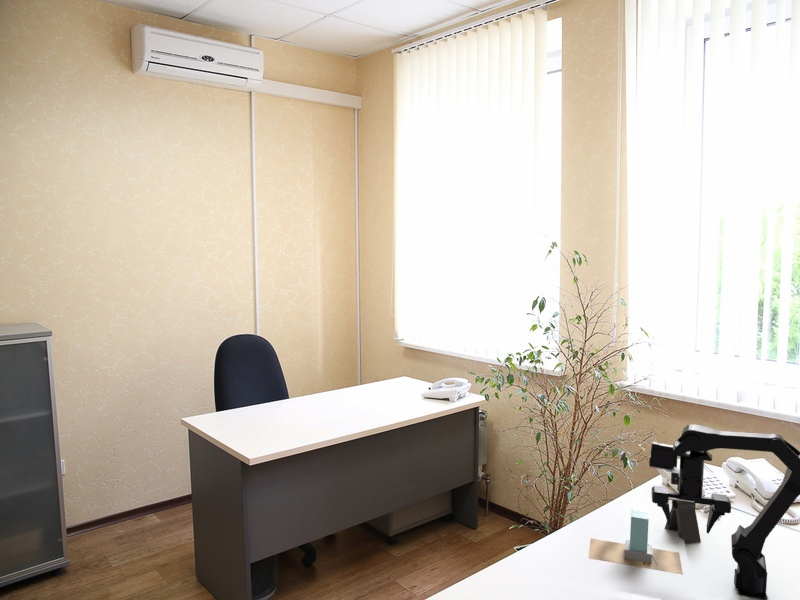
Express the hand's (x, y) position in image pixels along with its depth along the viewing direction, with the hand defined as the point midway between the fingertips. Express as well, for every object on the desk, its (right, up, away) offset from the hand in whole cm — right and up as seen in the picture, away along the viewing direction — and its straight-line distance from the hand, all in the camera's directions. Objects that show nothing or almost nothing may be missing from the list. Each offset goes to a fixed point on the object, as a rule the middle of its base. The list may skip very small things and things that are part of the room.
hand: (688, 529), depth 164 cm
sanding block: (-10, -11, +9) cm, 17 cm away
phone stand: (+9, -11, +24) cm, 27 cm away
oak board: (-11, -12, +9) cm, 19 cm away
